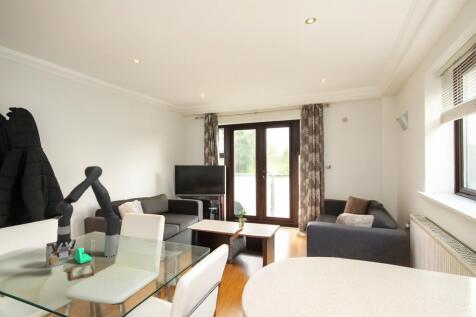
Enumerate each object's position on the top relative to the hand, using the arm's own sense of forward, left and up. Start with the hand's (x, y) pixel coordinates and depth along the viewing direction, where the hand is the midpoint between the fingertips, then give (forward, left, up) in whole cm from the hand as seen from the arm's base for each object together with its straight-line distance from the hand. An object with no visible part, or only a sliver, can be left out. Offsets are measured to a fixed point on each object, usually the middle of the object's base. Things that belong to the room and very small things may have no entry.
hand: (63, 256), depth 165 cm
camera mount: (-13, -13, -12) cm, 22 cm away
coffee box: (+5, -14, -12) cm, 19 cm away
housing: (0, 0, -1) cm, 1 cm away
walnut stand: (-11, +8, -11) cm, 17 cm away
